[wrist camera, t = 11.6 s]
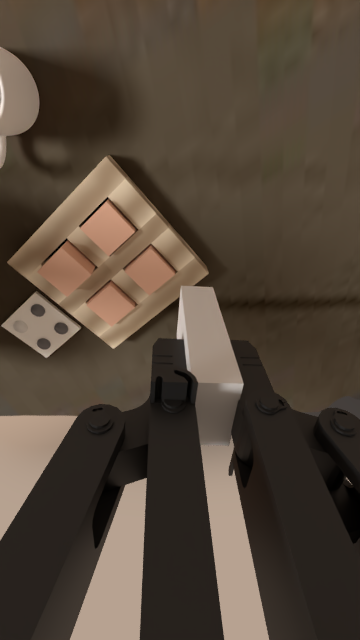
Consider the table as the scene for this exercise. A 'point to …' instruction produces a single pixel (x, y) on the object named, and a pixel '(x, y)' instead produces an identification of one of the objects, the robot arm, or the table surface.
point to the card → (41, 325)
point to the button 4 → (150, 269)
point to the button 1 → (67, 268)
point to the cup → (15, 99)
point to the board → (148, 231)
